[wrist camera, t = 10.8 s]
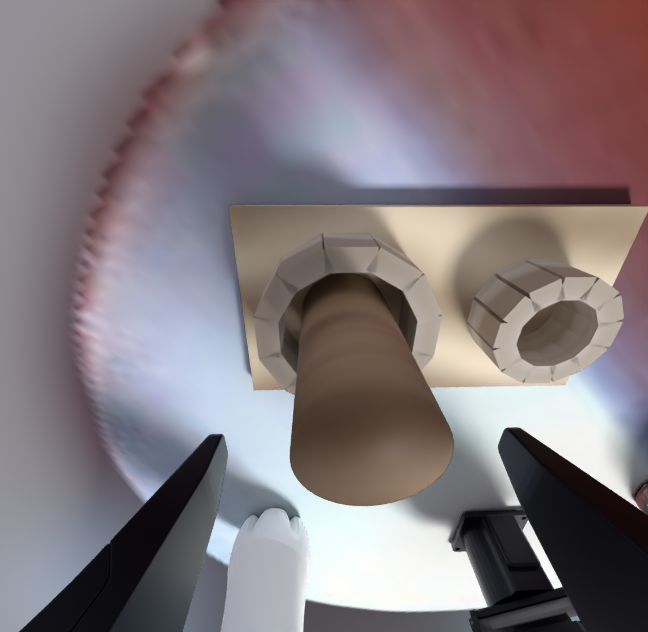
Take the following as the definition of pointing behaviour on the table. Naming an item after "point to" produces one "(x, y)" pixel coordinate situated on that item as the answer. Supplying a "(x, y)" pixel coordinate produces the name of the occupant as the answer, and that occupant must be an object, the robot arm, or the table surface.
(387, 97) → the table surface
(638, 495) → the supplement bottle
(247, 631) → the water bottle
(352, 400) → the walnut peg
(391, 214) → the two-ring peg board
